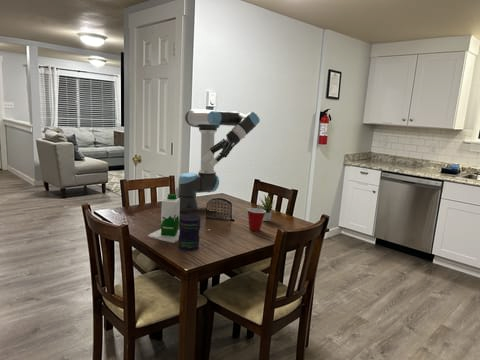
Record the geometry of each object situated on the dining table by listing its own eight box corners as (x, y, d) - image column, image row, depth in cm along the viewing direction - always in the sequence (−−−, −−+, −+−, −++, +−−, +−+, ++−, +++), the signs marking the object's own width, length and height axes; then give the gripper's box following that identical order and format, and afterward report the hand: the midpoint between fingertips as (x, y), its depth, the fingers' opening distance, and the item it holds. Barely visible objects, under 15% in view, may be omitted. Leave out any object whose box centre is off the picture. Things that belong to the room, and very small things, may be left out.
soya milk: (179, 231, 183) (181, 194, 180) (176, 237, 174) (178, 198, 171) (162, 229, 183) (164, 192, 180) (158, 235, 174) (160, 196, 171)
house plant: (249, 216, 223) (251, 191, 220) (269, 216, 227) (272, 192, 224) (257, 224, 209) (260, 197, 206) (278, 223, 214) (281, 197, 211)
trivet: (164, 228, 188) (164, 226, 188) (189, 234, 183) (189, 232, 183) (148, 236, 174) (148, 235, 174) (174, 242, 169) (174, 241, 169)
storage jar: (192, 242, 172) (194, 213, 170) (202, 249, 165) (204, 218, 162) (174, 245, 166) (175, 215, 164) (184, 252, 159) (185, 221, 156)
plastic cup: (266, 229, 202) (268, 209, 199) (260, 234, 192) (262, 213, 189) (249, 225, 205) (250, 205, 203) (242, 230, 196) (244, 209, 193)
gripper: (249, 143, 177) (220, 172, 174) (231, 138, 199) (204, 163, 196) (241, 132, 174) (210, 161, 170) (223, 128, 196) (195, 154, 193)
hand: (207, 162), depth 183 cm, fingers open, 13 cm apart
